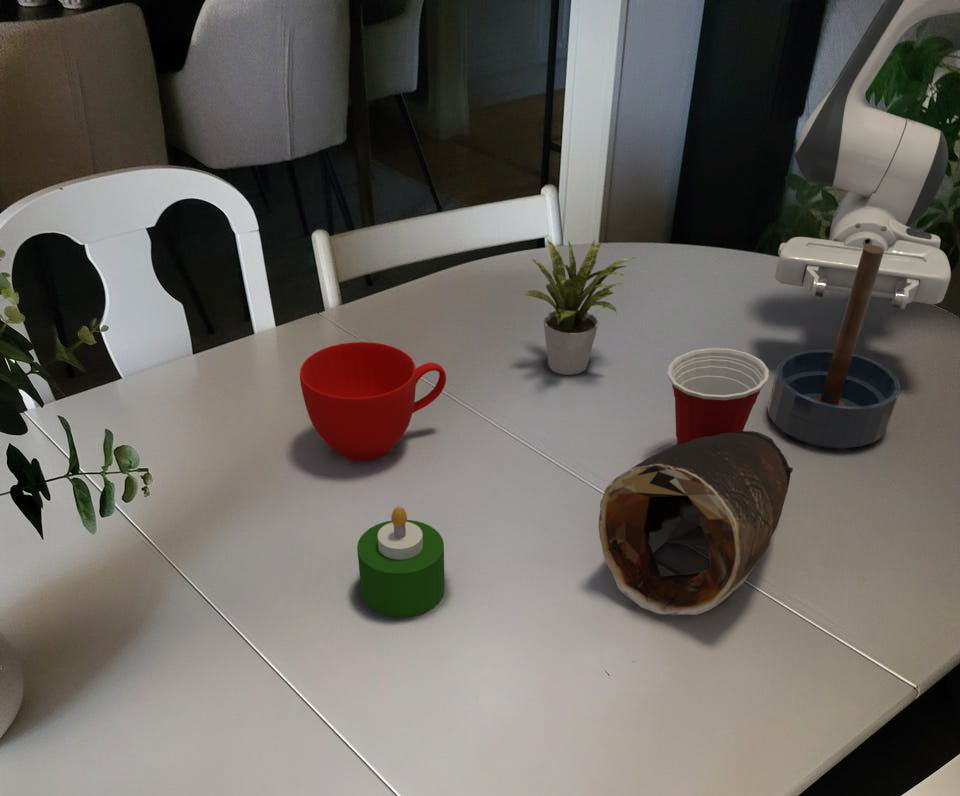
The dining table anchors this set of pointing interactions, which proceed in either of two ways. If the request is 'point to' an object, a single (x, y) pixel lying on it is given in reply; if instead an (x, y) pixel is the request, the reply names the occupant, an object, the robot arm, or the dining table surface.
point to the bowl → (826, 424)
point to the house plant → (573, 309)
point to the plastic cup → (714, 391)
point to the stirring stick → (851, 324)
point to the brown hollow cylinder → (694, 518)
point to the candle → (401, 566)
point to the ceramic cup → (363, 396)
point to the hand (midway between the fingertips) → (858, 296)
